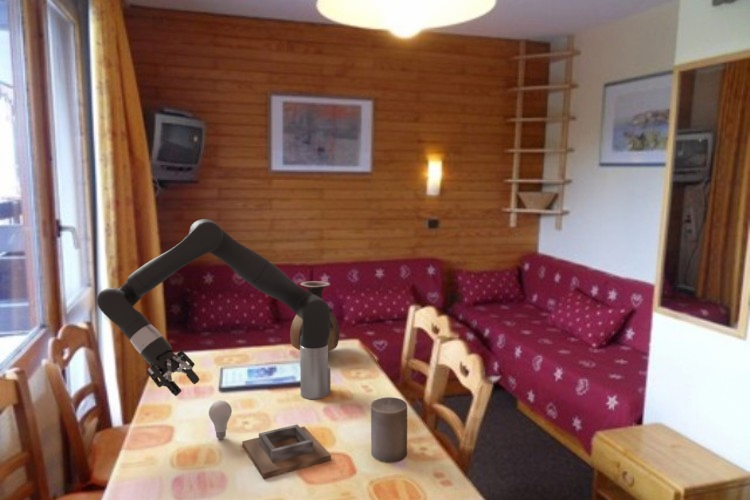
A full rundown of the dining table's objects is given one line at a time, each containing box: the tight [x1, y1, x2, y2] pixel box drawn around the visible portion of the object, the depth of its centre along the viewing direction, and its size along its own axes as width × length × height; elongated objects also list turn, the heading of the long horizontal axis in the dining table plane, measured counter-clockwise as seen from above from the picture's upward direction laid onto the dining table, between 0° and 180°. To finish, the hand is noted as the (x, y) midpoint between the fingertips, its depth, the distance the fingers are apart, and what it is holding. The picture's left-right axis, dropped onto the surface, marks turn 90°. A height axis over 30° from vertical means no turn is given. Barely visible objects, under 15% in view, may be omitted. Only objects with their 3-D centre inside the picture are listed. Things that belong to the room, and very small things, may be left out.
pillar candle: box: [370, 396, 408, 463], centre depth 144 cm, size 10×10×15 cm
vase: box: [289, 280, 340, 352], centre depth 217 cm, size 23×19×30 cm
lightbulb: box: [208, 400, 233, 440], centre depth 151 cm, size 6×6×11 cm
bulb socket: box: [241, 424, 332, 480], centre depth 144 cm, size 18×18×4 cm
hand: (188, 387), depth 152 cm, fingers open, 8 cm apart
